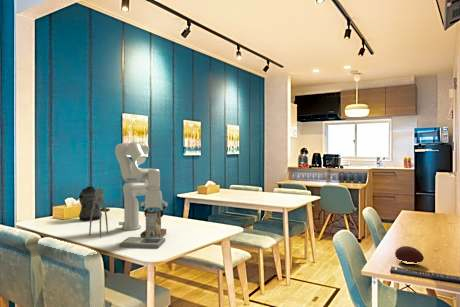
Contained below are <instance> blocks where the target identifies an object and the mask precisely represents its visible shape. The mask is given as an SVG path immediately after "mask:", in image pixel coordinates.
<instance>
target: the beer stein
mask: <svg viewBox="0 0 460 307" xmlns="http://www.w3.org/2000/svg"><path fill="white" fill-rule="evenodd" d="M95 191H96V189H95V187H94V186H86V188H82V190H81V192H80V194H79V195H78V199H79V203H80V205H81V206H80V212H79V215H78V218H79V221H80V222H90V218H91V212H92V207H93V203H94V200H96V197H95ZM102 215H103V213H102V212H101V217H102ZM94 221H100V209H99V207H98V204H97V203H95V207H94V211H93V216H92V222H94Z"/></svg>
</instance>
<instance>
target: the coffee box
mask: <svg viewBox="0 0 460 307" xmlns="http://www.w3.org/2000/svg"><path fill="white" fill-rule="evenodd" d="M160 211H161V209H160V210H159V209H151V210H148V212H146V217H145V230H146V237H149V238H158V234H159V233H160V232H161V229H162V217H160Z"/></svg>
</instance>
